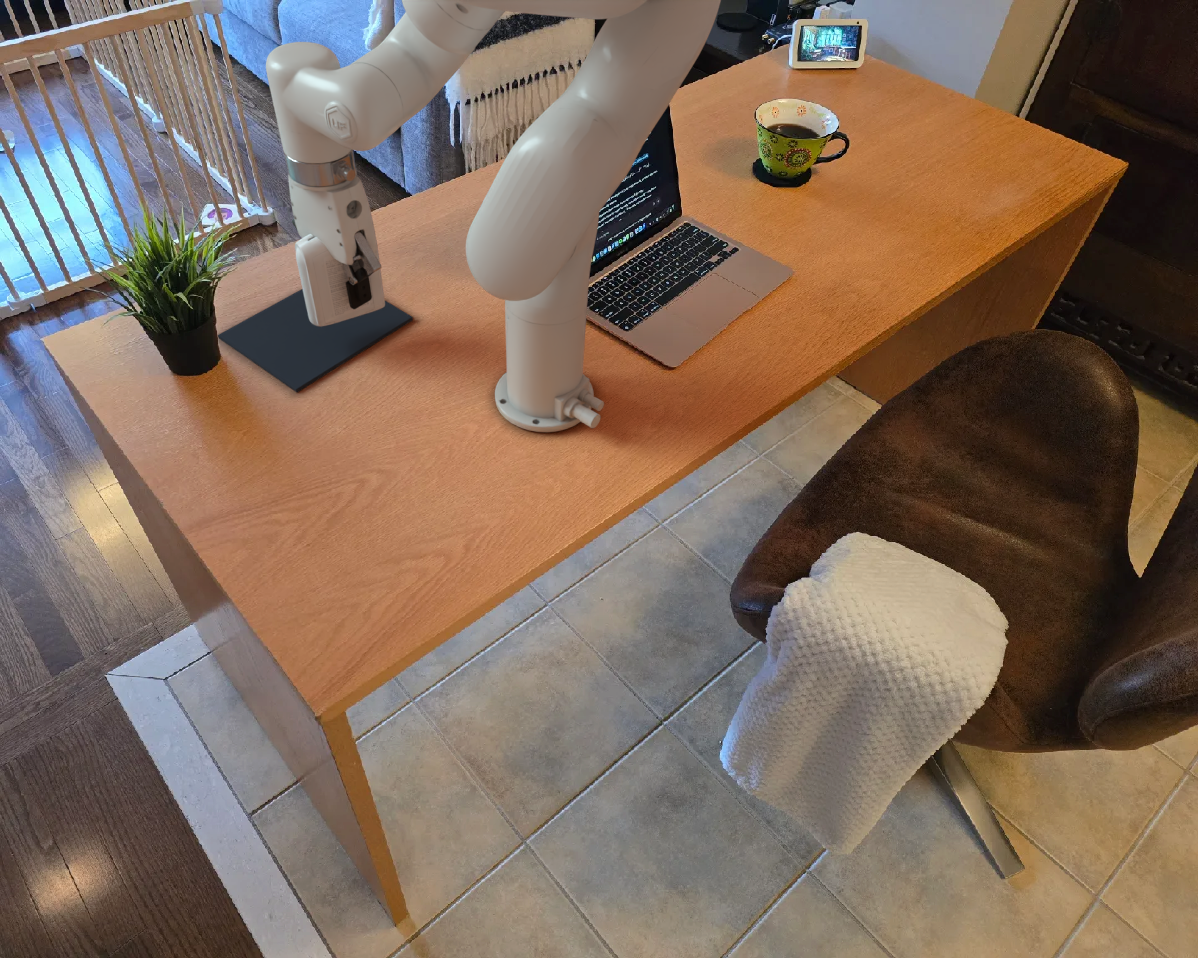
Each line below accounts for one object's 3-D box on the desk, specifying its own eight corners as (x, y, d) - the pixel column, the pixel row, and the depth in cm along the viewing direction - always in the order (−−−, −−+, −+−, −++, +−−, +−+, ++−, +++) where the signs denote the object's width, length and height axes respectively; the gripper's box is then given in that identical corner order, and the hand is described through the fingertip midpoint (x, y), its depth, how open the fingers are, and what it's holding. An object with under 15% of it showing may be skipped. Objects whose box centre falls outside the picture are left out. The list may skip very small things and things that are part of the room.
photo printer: (377, 291, 118) (365, 209, 109) (391, 308, 116) (379, 226, 106) (304, 314, 114) (284, 231, 104) (316, 332, 111) (298, 249, 102)
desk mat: (413, 320, 121) (412, 316, 121) (296, 392, 110) (295, 389, 110) (336, 273, 127) (335, 270, 127) (218, 338, 116) (217, 334, 116)
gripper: (398, 178, 98) (413, 308, 112) (298, 125, 104) (323, 255, 118) (346, 204, 94) (368, 336, 107) (245, 147, 100) (278, 279, 114)
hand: (344, 292), depth 112 cm, fingers closed on photo printer, 5 cm apart
